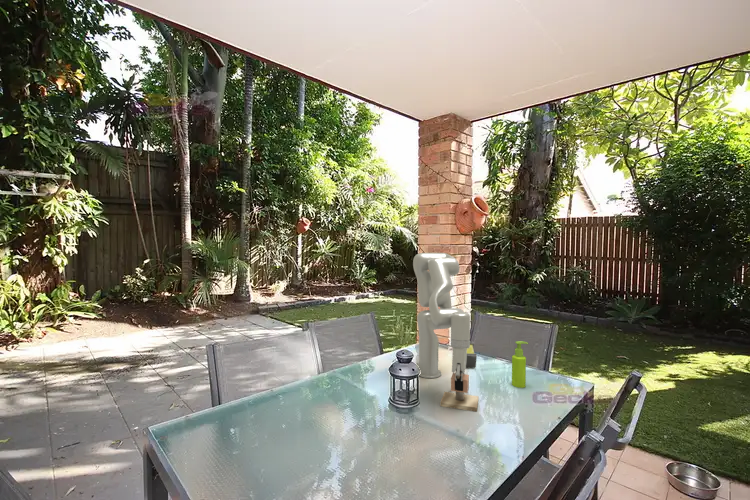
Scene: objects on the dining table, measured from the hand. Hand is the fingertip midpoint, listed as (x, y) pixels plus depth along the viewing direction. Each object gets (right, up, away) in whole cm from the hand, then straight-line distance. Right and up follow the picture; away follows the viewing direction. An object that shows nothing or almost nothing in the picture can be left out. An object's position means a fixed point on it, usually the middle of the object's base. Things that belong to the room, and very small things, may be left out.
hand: (459, 386), depth 144 cm
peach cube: (0, -1, 0) cm, 1 cm away
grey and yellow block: (+16, -6, +56) cm, 59 cm away
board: (0, -7, 0) cm, 7 cm away
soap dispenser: (+32, -7, +19) cm, 38 cm away
